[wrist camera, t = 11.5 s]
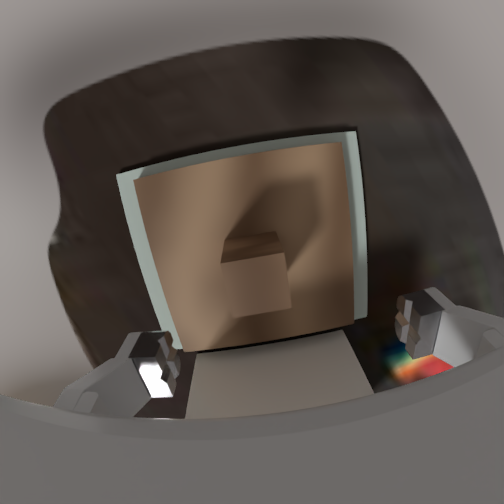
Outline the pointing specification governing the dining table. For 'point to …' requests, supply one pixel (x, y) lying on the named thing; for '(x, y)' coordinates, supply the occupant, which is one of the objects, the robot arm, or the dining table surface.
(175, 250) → the lid
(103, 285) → the dining table surface
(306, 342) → the white open square box
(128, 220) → the mat
